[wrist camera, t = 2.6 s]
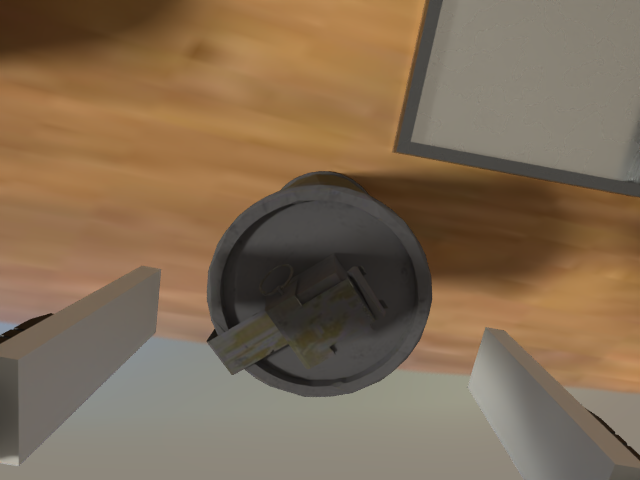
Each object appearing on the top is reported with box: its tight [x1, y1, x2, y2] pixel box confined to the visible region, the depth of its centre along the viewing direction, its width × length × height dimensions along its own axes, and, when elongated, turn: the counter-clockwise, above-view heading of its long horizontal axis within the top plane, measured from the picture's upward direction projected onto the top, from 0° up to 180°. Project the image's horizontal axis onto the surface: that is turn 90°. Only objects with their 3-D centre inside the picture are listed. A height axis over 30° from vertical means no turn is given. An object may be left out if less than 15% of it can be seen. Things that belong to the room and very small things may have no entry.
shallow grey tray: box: [392, 0, 640, 198], centre depth 29 cm, size 22×22×2 cm
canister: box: [207, 171, 432, 397], centre depth 24 cm, size 11×10×20 cm
